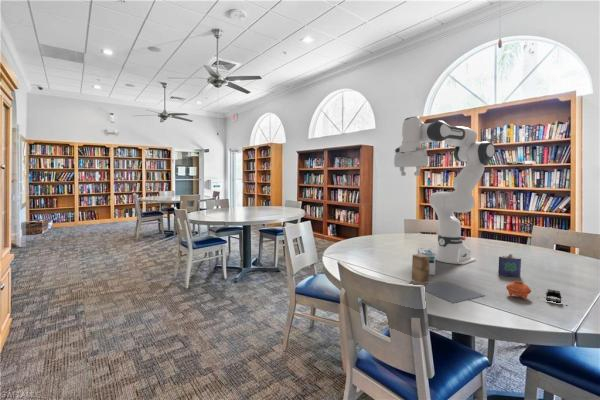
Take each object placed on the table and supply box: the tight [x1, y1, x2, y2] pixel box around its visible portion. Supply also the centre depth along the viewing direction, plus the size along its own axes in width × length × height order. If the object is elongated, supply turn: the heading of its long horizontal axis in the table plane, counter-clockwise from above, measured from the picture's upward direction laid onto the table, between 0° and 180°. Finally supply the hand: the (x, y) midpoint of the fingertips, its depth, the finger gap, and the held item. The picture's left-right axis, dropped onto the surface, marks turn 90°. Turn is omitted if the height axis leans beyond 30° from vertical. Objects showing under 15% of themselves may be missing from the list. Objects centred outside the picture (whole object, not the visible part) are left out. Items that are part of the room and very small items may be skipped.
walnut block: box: [411, 253, 430, 285], centre depth 137 cm, size 5×5×12 cm
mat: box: [423, 280, 486, 304], centre depth 126 cm, size 18×18×1 cm
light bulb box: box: [417, 247, 436, 276], centre depth 152 cm, size 11×7×11 cm, turn 168°
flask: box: [497, 253, 522, 277], centre depth 146 cm, size 9×3×11 cm, turn 74°
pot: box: [506, 280, 532, 300], centre depth 120 cm, size 8×8×7 cm
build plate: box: [545, 288, 563, 303], centre depth 116 cm, size 12×7×5 cm, turn 53°
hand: (409, 175), depth 157 cm, fingers open, 8 cm apart
